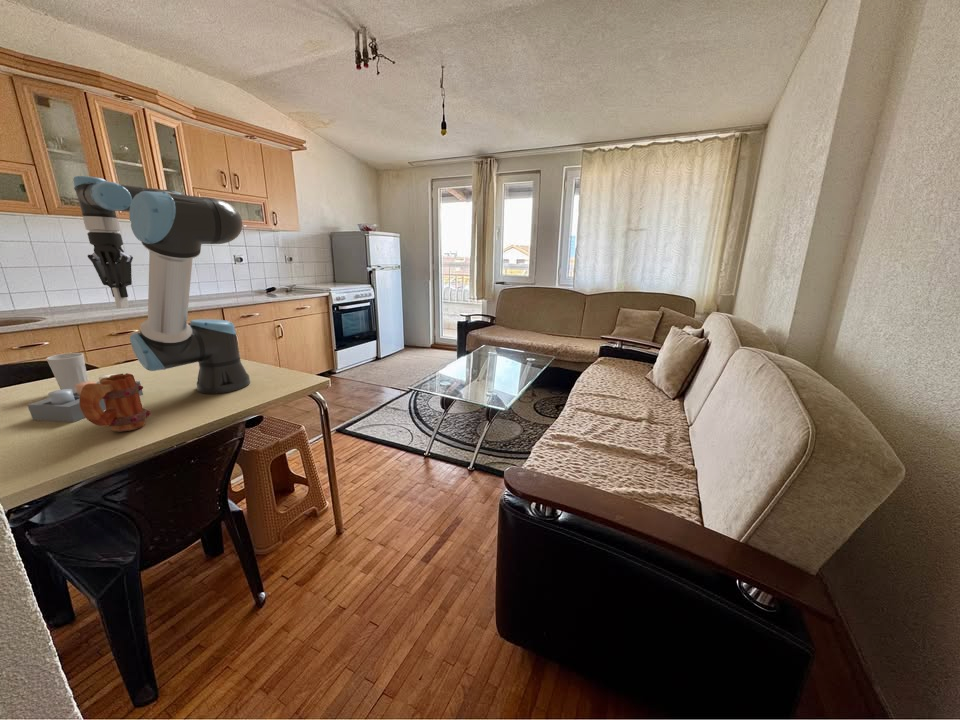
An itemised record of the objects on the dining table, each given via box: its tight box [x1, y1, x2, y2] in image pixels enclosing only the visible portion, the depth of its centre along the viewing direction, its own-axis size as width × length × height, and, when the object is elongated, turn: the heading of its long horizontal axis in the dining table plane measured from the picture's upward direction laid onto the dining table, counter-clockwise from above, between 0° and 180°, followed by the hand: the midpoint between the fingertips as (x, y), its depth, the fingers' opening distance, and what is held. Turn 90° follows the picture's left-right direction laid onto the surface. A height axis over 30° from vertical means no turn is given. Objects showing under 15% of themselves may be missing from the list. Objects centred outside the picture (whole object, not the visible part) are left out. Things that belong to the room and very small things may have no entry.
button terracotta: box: [75, 380, 98, 396], centre depth 109 cm, size 4×4×5 cm
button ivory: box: [98, 373, 117, 382], centre depth 115 cm, size 4×4×5 cm
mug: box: [80, 373, 151, 433], centre depth 93 cm, size 15×8×15 cm, turn 5°
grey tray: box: [27, 380, 144, 423], centre depth 109 cm, size 12×20×4 cm, turn 176°
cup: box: [45, 352, 89, 390], centre depth 119 cm, size 8×8×12 cm
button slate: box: [47, 389, 75, 405], centre depth 102 cm, size 4×4×5 cm
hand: (123, 307), depth 122 cm, fingers closed
